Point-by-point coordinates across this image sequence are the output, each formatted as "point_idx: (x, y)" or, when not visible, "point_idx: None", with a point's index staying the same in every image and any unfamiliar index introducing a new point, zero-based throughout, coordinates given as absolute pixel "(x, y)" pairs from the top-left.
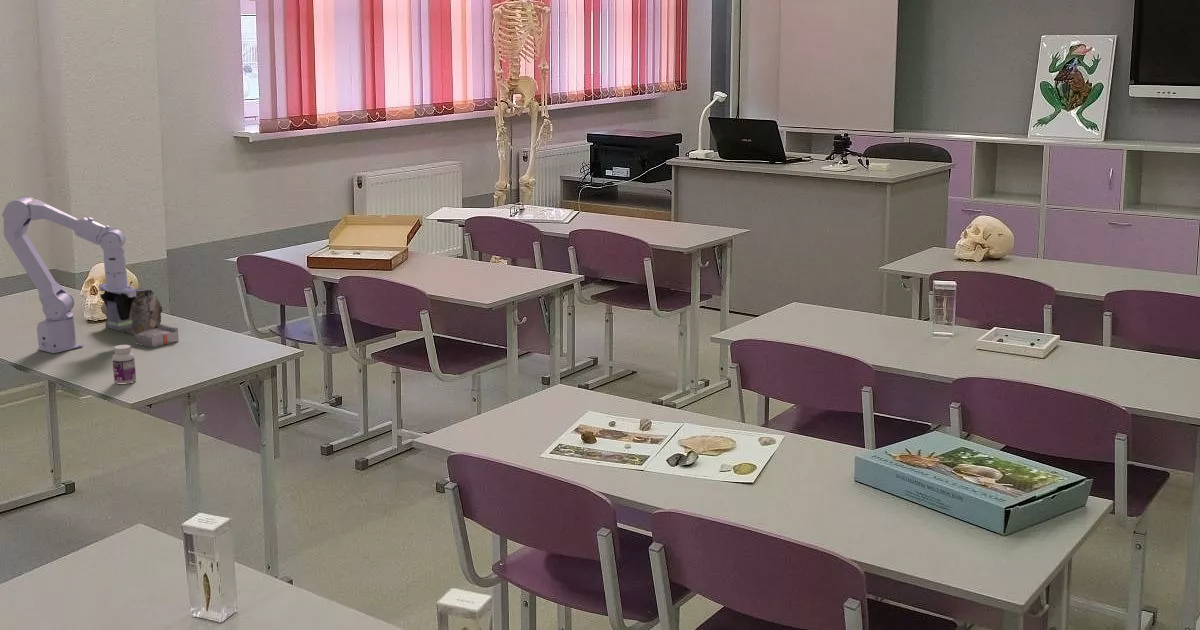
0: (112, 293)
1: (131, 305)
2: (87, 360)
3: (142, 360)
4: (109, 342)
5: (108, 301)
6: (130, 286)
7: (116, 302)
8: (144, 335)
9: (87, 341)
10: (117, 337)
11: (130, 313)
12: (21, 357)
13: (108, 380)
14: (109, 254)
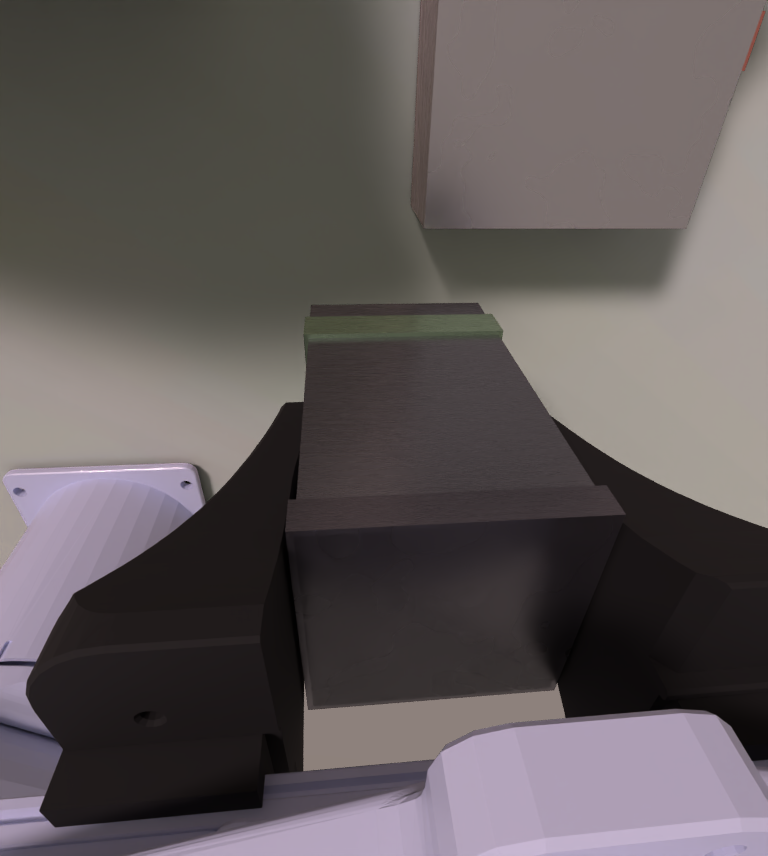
0: (286, 757)
1: (655, 489)
2: None
3: (749, 428)
4: (203, 301)
5: (359, 697)
6: (757, 773)
7: (547, 686)
8: (569, 217)
9: (51, 375)
10: (70, 149)
11: (523, 384)
12: None
13: None
14: None
